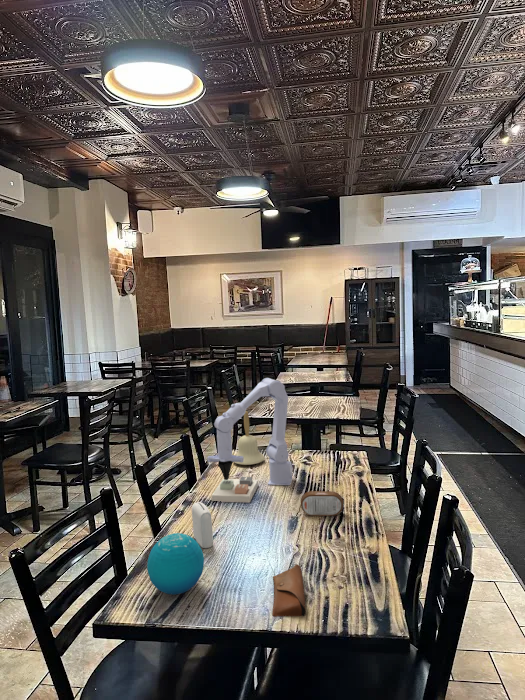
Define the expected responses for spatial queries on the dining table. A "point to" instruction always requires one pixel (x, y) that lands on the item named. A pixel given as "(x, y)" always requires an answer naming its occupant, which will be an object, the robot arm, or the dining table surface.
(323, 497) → the tin
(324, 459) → the dining table surface
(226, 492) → the key panel
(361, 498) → the dining table surface
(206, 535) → the photo printer
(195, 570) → the decorative orb
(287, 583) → the sunglasses case
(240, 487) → the key two
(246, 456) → the handbell
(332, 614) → the dining table surface
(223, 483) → the key three
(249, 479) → the key one
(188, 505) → the dining table surface
